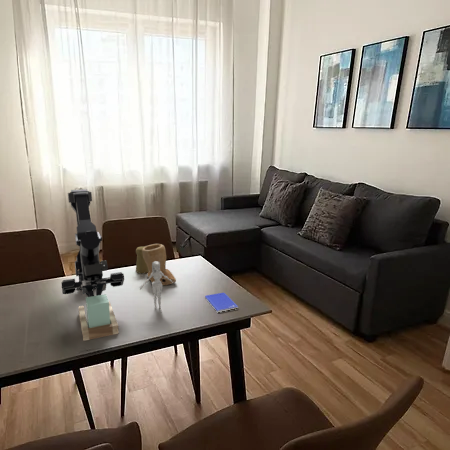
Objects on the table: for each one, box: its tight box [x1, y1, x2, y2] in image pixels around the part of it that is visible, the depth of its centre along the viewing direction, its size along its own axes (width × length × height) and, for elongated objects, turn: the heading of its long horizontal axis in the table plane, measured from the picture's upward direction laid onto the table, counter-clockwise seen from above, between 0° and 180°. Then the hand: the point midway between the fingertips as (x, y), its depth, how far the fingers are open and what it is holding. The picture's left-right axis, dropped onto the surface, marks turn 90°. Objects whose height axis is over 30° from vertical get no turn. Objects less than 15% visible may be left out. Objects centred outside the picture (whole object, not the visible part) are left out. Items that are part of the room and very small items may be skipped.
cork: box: [135, 246, 149, 274], centre depth 161 cm, size 6×6×11 cm
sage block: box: [85, 293, 110, 328], centre depth 112 cm, size 6×6×10 cm
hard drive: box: [204, 292, 239, 314], centre depth 134 cm, size 2×8×12 cm
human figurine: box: [139, 261, 173, 313], centre depth 126 cm, size 12×4×18 cm, turn 122°
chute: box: [78, 300, 120, 342], centre depth 117 cm, size 17×10×4 cm, turn 25°
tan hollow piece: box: [142, 243, 177, 286], centre depth 152 cm, size 15×12×15 cm
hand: (96, 308), depth 115 cm, fingers closed, pressing on sage block
